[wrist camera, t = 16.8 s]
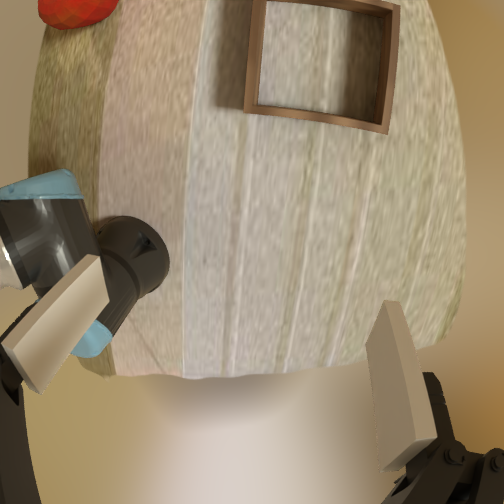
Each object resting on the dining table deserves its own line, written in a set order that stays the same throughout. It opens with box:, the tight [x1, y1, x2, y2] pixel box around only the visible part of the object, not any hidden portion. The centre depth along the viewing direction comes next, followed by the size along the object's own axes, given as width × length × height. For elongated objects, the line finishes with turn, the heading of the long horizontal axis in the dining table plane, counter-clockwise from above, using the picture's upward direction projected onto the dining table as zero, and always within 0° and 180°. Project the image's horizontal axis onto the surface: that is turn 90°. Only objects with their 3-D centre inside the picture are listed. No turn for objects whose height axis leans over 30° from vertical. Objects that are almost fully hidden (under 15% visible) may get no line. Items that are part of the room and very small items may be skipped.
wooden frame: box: [243, 0, 400, 135], centre depth 31 cm, size 18×18×5 cm
